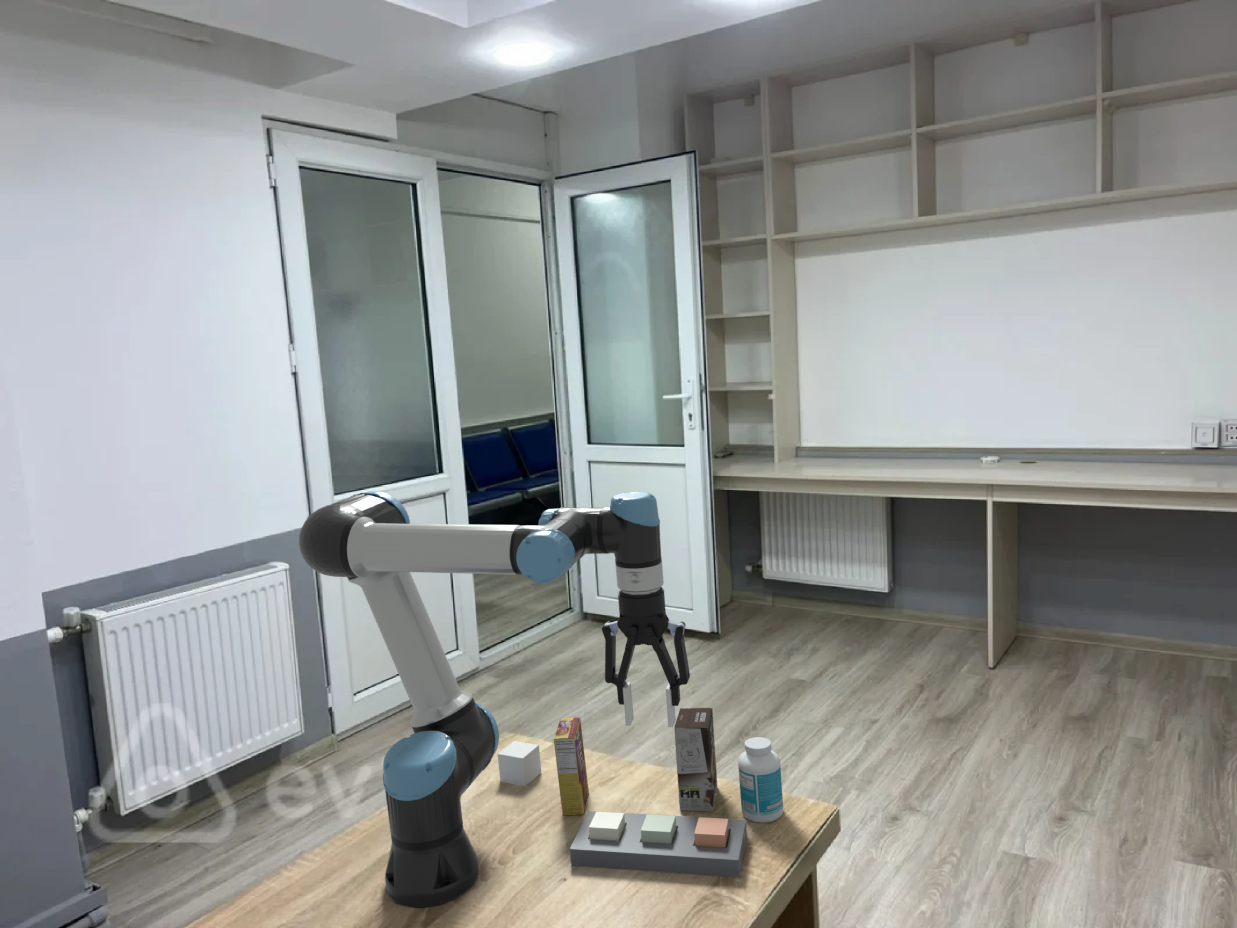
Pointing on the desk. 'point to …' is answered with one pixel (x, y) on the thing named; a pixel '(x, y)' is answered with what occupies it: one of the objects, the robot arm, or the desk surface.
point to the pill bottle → (760, 781)
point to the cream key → (607, 826)
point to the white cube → (519, 763)
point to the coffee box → (696, 759)
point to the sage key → (658, 829)
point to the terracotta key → (712, 832)
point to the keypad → (661, 849)
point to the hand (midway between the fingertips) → (650, 722)
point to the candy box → (571, 766)
